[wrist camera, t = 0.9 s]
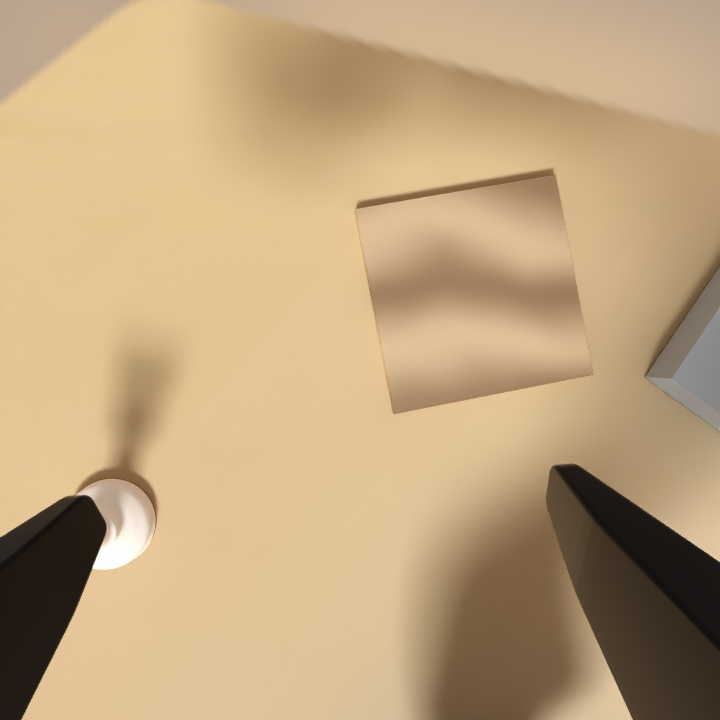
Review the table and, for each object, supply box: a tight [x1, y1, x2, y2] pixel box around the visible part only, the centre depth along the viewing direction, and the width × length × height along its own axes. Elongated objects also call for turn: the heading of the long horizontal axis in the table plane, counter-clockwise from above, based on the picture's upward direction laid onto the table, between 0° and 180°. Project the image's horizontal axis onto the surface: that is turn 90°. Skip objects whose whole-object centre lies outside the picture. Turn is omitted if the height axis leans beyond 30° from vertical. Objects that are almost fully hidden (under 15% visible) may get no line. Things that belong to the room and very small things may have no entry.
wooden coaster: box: [355, 175, 593, 414], centre depth 24 cm, size 12×12×1 cm
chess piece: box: [76, 479, 156, 569], centre depth 18 cm, size 5×5×10 cm
